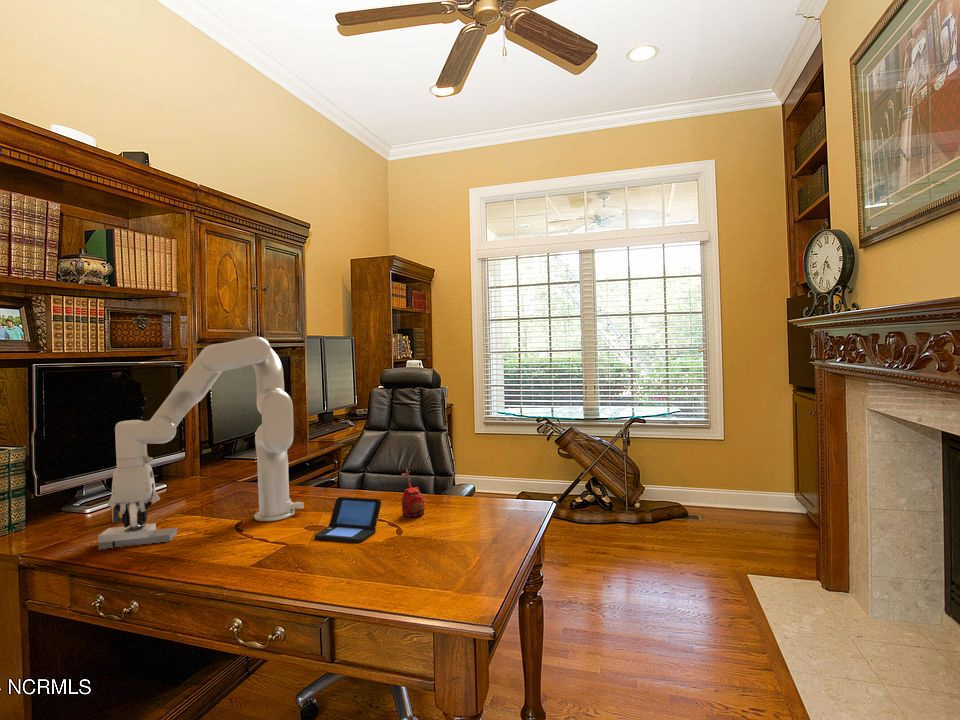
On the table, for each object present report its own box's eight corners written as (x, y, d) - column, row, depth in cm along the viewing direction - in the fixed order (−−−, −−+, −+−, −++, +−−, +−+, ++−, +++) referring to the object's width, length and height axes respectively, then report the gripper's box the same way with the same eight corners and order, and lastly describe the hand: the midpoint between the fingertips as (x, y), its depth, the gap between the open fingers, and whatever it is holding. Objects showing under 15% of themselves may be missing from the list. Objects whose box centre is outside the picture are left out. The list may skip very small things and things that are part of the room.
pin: (145, 536, 156) (143, 491, 156) (140, 540, 152) (138, 495, 152) (130, 537, 155) (128, 493, 155) (125, 542, 151) (123, 496, 151)
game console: (312, 540, 150) (311, 509, 150) (338, 525, 163) (337, 496, 163) (360, 544, 146) (359, 512, 146) (383, 528, 159) (382, 498, 159)
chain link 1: (156, 536, 158) (155, 523, 158) (148, 544, 151) (147, 530, 151) (109, 541, 155) (108, 528, 155) (98, 549, 148) (98, 535, 148)
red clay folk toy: (409, 520, 166) (407, 472, 165) (397, 515, 171) (395, 469, 171) (428, 514, 171) (427, 468, 170) (416, 510, 176) (415, 465, 176)
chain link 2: (177, 534, 159) (176, 527, 159) (169, 541, 153) (169, 535, 153) (124, 539, 156) (124, 533, 156) (114, 548, 149) (114, 541, 149)
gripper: (167, 457, 159) (170, 518, 159) (105, 462, 155) (108, 524, 155) (159, 462, 152) (162, 525, 152) (94, 467, 147) (97, 532, 148)
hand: (135, 524), depth 153 cm, fingers open, 3 cm apart
